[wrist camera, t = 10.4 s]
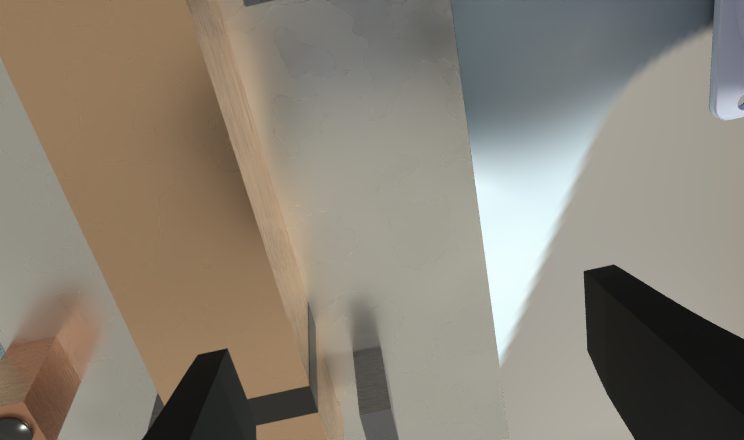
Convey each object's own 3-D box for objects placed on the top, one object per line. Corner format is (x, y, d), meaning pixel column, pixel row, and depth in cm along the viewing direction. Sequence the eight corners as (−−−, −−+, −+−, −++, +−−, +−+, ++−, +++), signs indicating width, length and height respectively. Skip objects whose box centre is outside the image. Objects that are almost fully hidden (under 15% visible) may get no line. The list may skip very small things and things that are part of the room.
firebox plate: (396, -323, 16) (430, -385, 12) (498, 410, 27) (533, 506, 23) (-261, -174, 16) (-452, -184, 12) (117, 492, 28) (85, 602, 23)
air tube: (343, 421, 25) (350, 514, 21) (237, 443, 25) (226, 540, 21) (185, -112, 16) (153, -104, 13) (22, -75, 16) (-55, -57, 13)
